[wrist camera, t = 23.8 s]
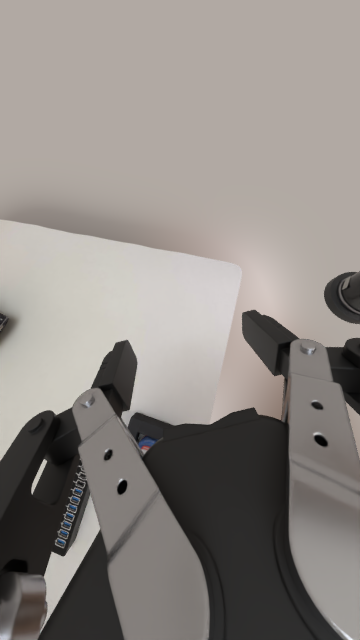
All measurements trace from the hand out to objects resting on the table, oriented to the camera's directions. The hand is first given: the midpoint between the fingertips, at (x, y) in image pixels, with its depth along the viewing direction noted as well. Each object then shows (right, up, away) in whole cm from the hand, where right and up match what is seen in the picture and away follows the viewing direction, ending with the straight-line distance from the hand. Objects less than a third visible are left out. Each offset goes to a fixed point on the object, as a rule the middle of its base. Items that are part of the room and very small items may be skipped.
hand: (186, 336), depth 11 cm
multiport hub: (-19, -31, +19) cm, 41 cm away
